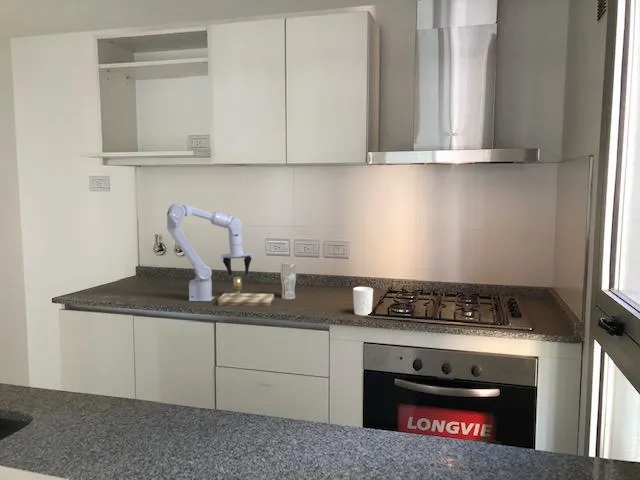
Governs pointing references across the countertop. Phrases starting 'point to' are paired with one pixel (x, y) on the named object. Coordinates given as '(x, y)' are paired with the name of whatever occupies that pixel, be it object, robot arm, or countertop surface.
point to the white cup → (362, 300)
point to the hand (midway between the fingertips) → (238, 274)
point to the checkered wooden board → (245, 299)
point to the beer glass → (288, 280)
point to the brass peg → (237, 284)
